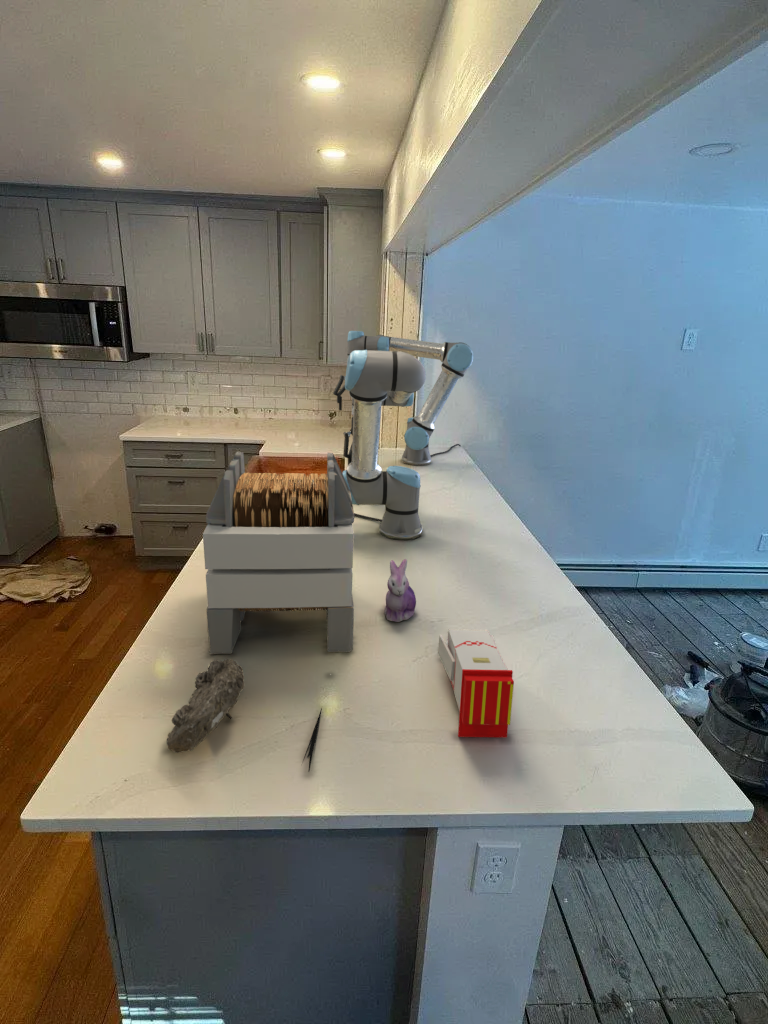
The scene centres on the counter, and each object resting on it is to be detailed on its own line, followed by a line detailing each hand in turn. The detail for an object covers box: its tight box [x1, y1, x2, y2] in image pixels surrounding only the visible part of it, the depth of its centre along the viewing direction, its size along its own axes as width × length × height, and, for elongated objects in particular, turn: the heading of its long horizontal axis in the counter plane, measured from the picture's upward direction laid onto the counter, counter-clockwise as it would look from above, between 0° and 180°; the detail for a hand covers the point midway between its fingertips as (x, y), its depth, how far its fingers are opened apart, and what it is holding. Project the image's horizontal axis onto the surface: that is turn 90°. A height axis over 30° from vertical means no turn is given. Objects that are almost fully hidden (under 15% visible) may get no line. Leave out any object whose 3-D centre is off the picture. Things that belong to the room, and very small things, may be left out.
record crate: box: [202, 451, 355, 655], centre depth 137 cm, size 34×33×41 cm
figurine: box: [384, 558, 417, 623], centre depth 145 cm, size 9×10×15 cm
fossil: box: [166, 658, 245, 754], centre depth 106 cm, size 22×10×15 cm
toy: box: [437, 628, 515, 738], centre depth 117 cm, size 12×13×30 cm
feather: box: [301, 673, 332, 771], centre depth 108 cm, size 2×28×2 cm
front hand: (359, 473), depth 228 cm, fingers closed on block, 6 cm apart
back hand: (353, 409), depth 276 cm, fingers open, 13 cm apart
